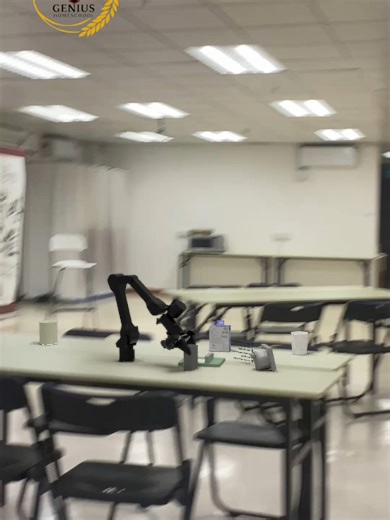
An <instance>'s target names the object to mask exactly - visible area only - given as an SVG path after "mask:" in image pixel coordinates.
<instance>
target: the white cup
mask: <svg viewBox="0 0 390 520" xmlns="http://www.w3.org/2000/svg"><path fill="white" fill-rule="evenodd" d="M290 334H291V335H290V338H291V353H292V355H295V356H305V355H307V352H308V351H307V350H308V341H309V332H308V331H298V330H297V331H291V332H290Z"/></svg>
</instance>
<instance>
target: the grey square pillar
mask: <svg viewBox="0 0 390 520" xmlns="http://www.w3.org/2000/svg"><path fill="white" fill-rule="evenodd" d="M198 347H199V345H198V344H196V345H194V344H188V348H189V350H190V352H191V355H188V354H186V353H185V352H183V358H184V366H183V370H184V371H190V370H191V371H192V372H193V371H195V370H197V368H198V369H199V366H198V357H199V350H198V349H199V348H198Z"/></svg>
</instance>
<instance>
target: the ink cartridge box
mask: <svg viewBox="0 0 390 520" xmlns="http://www.w3.org/2000/svg"><path fill="white" fill-rule="evenodd" d="M231 326H232V325H231V324H225V320H222V319H219V320H216V324H211V325H210V326H209V330H208V331H209V337H208V338H209V341H208V342H209V344H208V345H209V346H208V347H209V350H208V351H209V352H230V351H231V350H232V345H231V344H232V343H231V342H232V341H231V340H232V328H231Z"/></svg>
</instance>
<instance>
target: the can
mask: <svg viewBox="0 0 390 520" xmlns="http://www.w3.org/2000/svg"><path fill="white" fill-rule="evenodd" d="M38 325H39V345H40V344H44V345H43V346H48V345H47V344H55V343H57V342H58V320H55V319H54V320H53V319H48V320H47V319H45V320H39V321H38Z"/></svg>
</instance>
